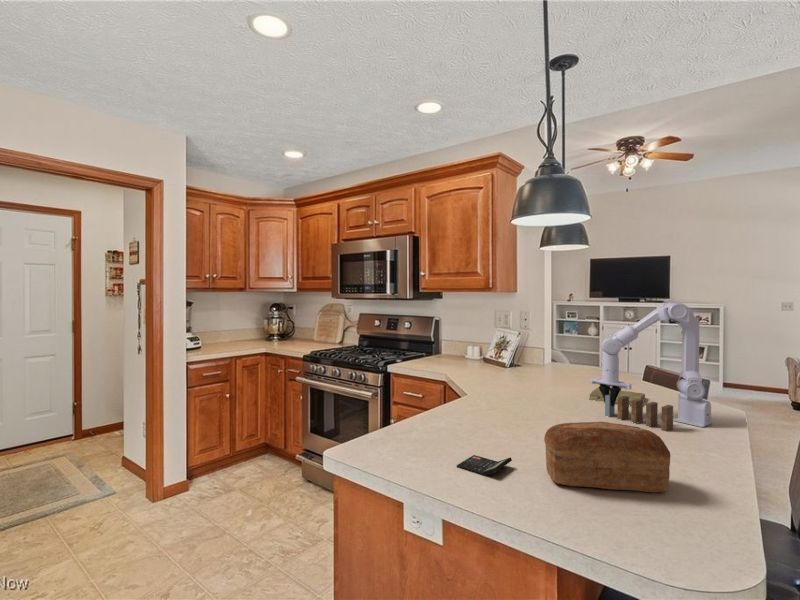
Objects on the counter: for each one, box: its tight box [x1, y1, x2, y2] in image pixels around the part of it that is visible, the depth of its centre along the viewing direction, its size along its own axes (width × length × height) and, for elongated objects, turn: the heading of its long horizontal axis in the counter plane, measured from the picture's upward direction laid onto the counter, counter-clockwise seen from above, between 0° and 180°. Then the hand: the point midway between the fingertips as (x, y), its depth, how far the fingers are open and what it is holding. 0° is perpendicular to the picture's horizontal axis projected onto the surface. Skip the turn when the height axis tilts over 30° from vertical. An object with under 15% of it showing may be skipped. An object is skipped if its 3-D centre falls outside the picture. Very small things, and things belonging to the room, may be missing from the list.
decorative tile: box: [588, 386, 646, 407], centre depth 183 cm, size 19×20×4 cm
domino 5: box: [660, 404, 674, 432], centre depth 143 cm, size 2×5×8 cm, turn 125°
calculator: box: [456, 454, 513, 476], centre depth 111 cm, size 9×12×3 cm
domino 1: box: [604, 394, 616, 418], centre depth 159 cm, size 2×5×8 cm, turn 132°
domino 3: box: [630, 399, 644, 424], centre depth 151 cm, size 2×5×8 cm, turn 125°
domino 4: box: [645, 401, 659, 428], centre depth 147 cm, size 2×5×8 cm, turn 125°
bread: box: [543, 421, 671, 493], centre depth 103 cm, size 12×28×14 cm, turn 80°
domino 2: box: [617, 396, 630, 421], centre depth 155 cm, size 2×5×8 cm, turn 125°
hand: (609, 405), depth 159 cm, fingers closed on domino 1
